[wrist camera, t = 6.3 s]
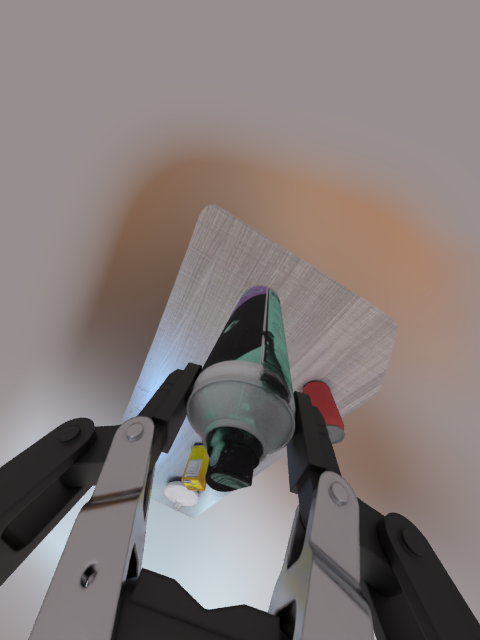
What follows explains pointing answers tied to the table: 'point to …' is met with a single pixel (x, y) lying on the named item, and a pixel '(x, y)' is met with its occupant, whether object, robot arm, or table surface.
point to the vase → (181, 494)
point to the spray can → (244, 392)
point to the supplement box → (196, 469)
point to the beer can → (326, 409)
